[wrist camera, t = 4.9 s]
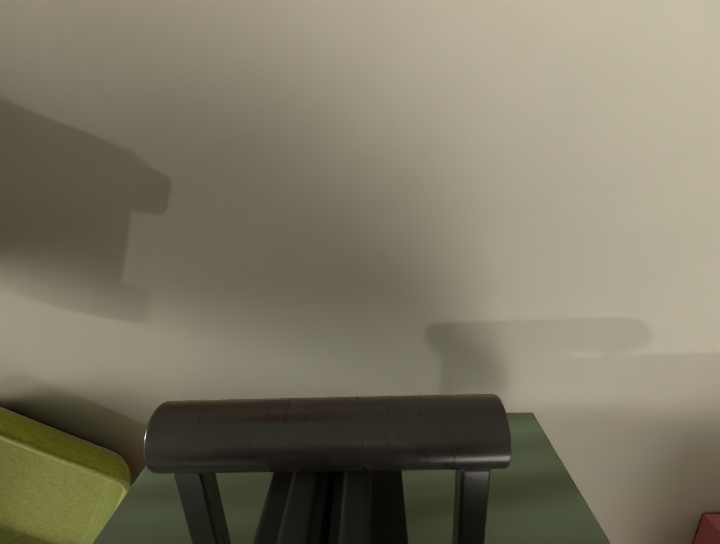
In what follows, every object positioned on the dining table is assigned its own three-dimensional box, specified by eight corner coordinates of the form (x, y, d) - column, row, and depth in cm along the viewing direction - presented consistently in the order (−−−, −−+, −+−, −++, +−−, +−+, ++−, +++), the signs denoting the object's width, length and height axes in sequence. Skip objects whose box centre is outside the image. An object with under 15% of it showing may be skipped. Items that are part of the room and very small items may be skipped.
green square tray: (161, 445, 16) (132, 487, 14) (107, 564, 19) (76, 613, 17) (-44, 360, 15) (-106, 393, 13) (-72, 499, 18) (-127, 544, 16)
